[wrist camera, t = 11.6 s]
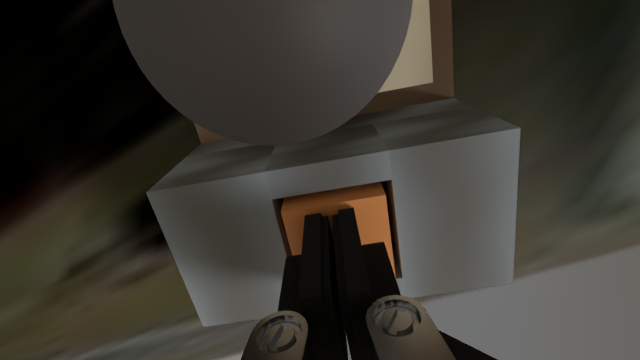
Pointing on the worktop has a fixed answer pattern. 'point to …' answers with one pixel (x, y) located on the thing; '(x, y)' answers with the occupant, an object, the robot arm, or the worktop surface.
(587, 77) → the worktop surface
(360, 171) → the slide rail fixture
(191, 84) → the cream plate with knob
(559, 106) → the worktop surface
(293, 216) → the button
